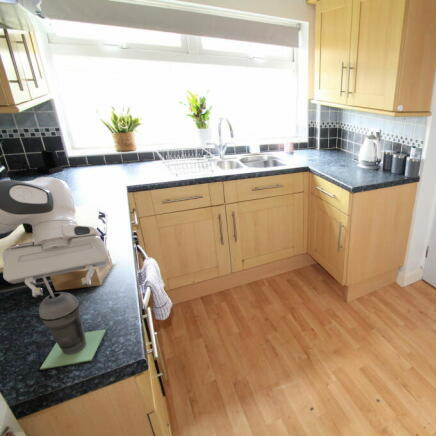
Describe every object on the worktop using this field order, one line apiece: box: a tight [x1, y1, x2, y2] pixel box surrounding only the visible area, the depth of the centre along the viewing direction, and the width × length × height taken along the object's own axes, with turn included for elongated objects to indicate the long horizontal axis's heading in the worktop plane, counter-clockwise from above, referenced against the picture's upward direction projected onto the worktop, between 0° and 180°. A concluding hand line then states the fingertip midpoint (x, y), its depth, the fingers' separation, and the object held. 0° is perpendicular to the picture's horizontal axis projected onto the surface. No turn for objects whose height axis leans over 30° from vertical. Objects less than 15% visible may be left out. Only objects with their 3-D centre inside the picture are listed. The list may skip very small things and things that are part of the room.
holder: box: [49, 249, 114, 292], centre depth 102 cm, size 12×12×6 cm
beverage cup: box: [38, 277, 86, 355], centre depth 73 cm, size 7×7×20 cm
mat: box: [39, 328, 107, 371], centre depth 77 cm, size 10×10×1 cm
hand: (63, 290), depth 77 cm, fingers open, 8 cm apart
